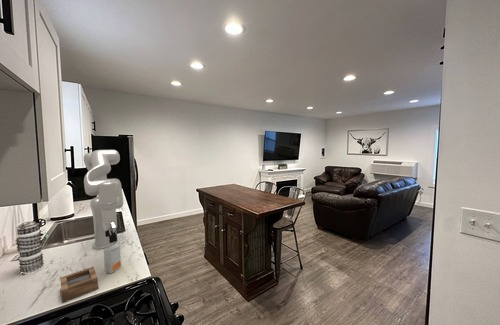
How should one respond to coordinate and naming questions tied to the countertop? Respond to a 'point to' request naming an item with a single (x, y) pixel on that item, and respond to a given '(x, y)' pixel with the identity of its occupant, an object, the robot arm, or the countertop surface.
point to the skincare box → (112, 258)
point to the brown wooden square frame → (78, 284)
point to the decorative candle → (29, 247)
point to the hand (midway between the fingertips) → (111, 238)
